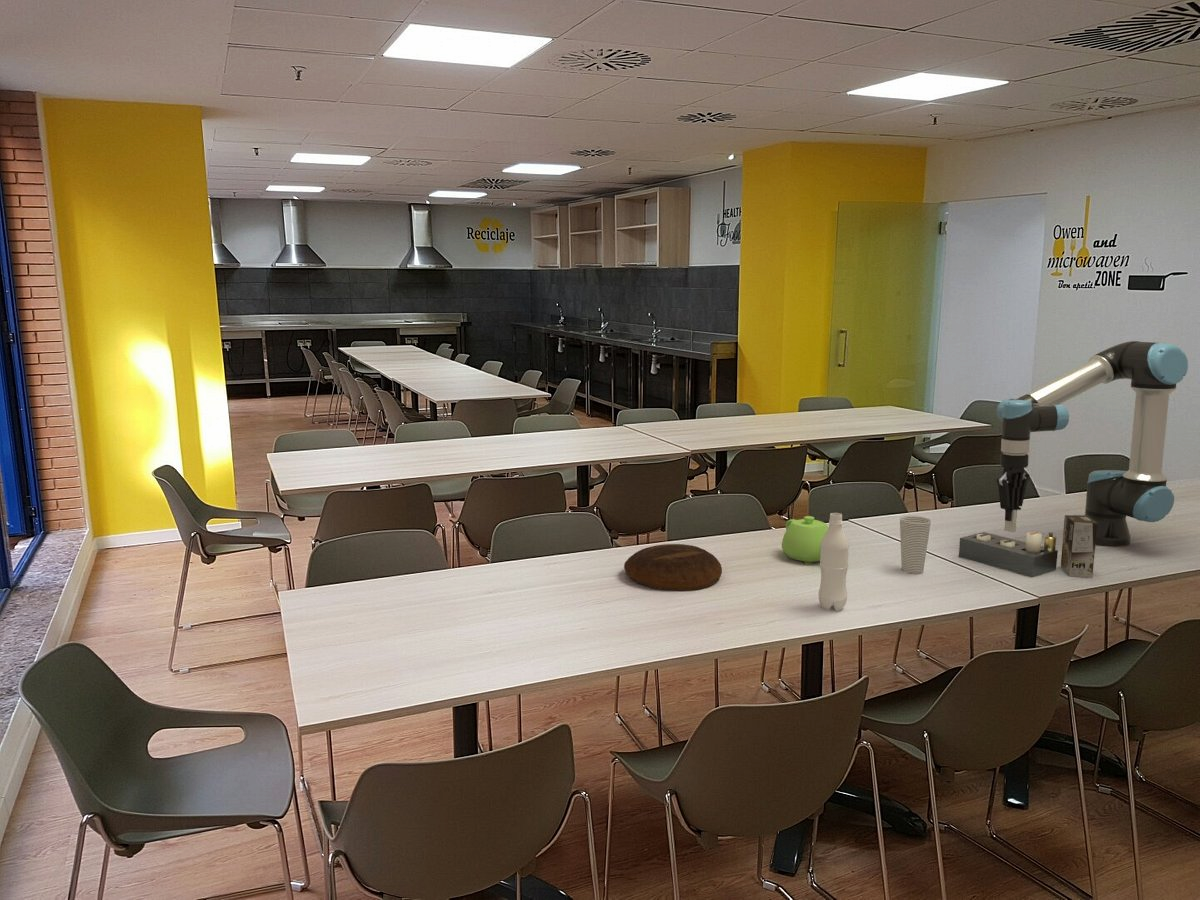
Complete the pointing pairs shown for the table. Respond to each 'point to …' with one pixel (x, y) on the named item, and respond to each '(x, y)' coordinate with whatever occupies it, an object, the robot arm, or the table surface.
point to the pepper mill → (1050, 542)
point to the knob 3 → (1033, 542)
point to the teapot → (804, 539)
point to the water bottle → (834, 565)
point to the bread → (674, 567)
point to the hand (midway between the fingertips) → (1010, 530)
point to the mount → (1007, 555)
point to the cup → (914, 543)
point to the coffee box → (1078, 545)
